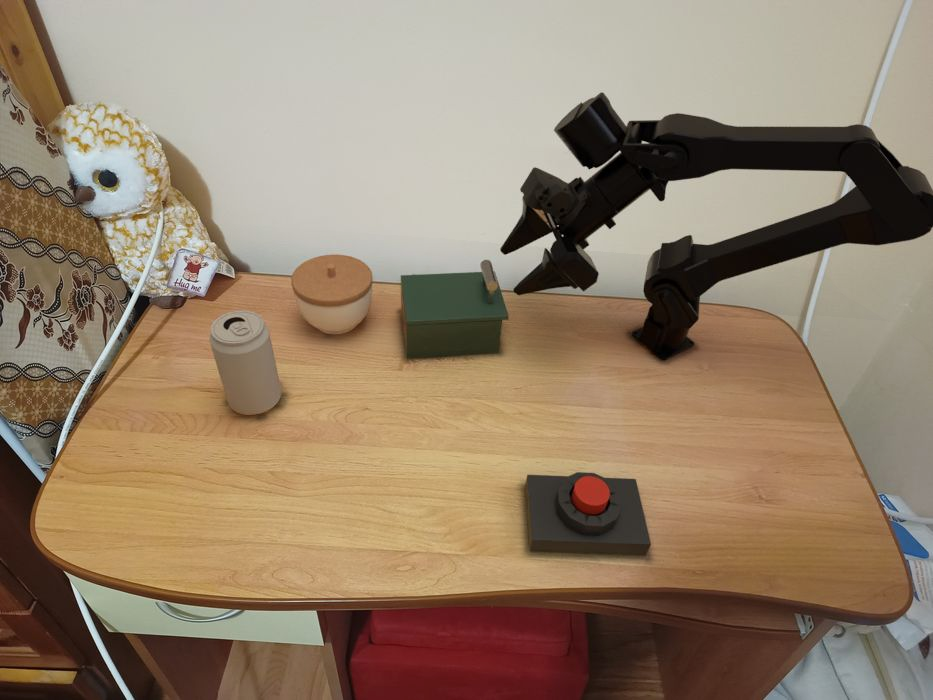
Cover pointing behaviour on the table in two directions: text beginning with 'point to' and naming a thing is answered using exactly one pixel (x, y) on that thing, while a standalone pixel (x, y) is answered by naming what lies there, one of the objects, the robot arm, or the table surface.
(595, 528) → the panel
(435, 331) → the green box
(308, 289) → the trinket box
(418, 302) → the lid
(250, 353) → the beverage can
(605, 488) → the button
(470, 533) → the table surface
